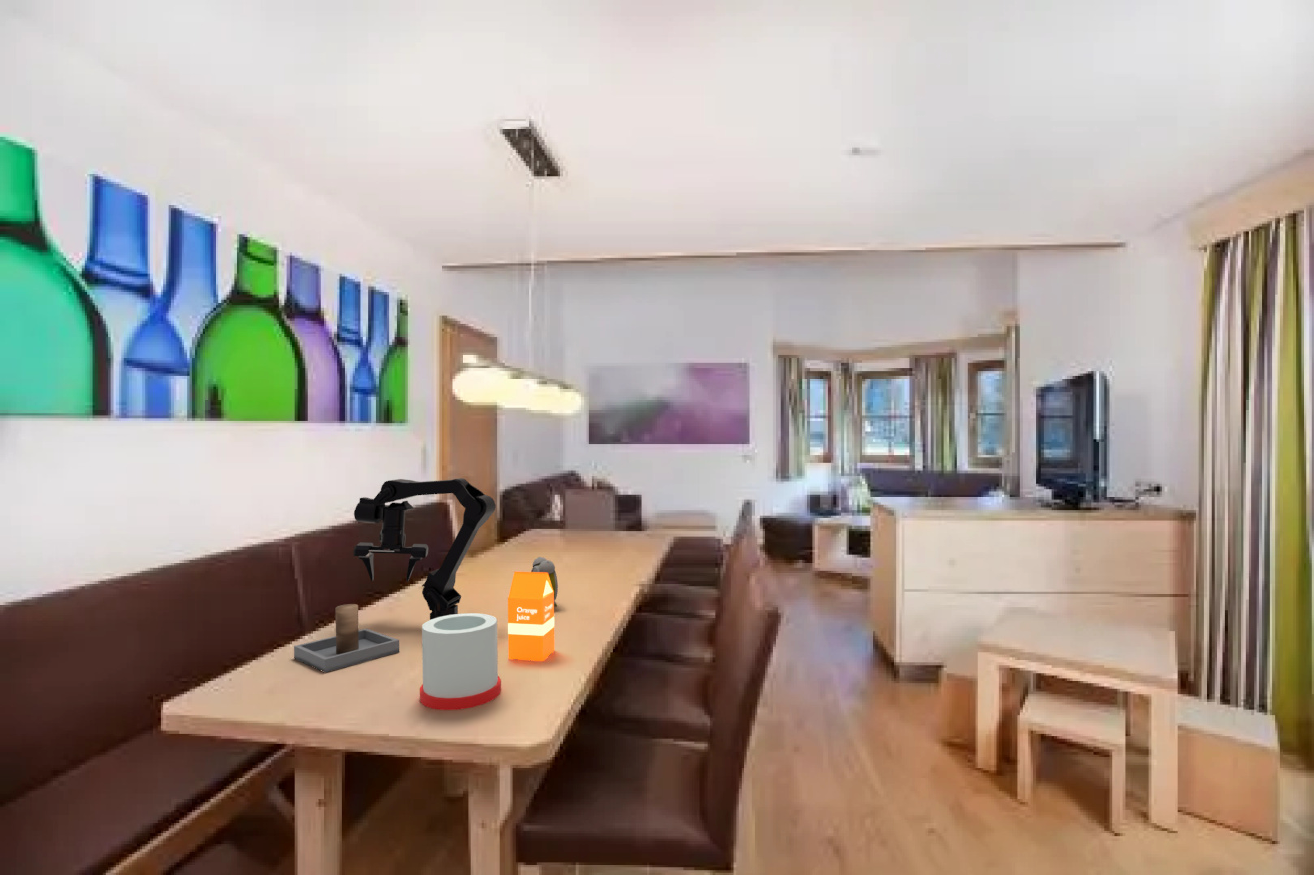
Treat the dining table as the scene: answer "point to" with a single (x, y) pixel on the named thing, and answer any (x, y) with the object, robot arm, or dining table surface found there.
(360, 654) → the tray
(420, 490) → the robot arm
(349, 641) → the brown upright cylinder
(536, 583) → the orange juice
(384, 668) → the dining table surface
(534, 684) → the dining table surface
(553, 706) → the dining table surface
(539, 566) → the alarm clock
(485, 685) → the container
